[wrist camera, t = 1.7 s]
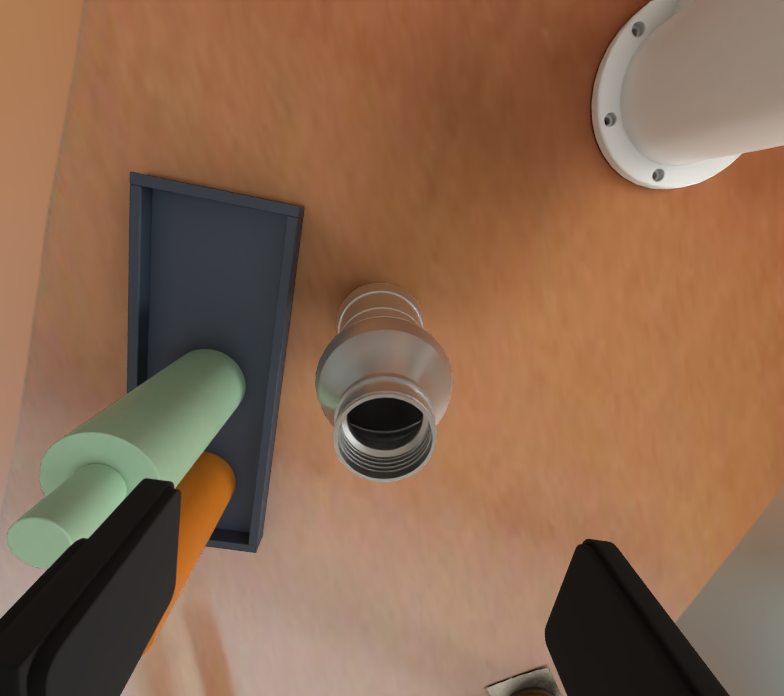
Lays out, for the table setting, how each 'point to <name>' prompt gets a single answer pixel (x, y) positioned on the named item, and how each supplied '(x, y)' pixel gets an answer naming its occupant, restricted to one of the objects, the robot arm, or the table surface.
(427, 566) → the table surface
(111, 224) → the table surface
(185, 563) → the amber bottle
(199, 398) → the sage bottle
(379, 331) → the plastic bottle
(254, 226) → the tray
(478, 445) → the table surface
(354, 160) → the table surface
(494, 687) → the condiment
